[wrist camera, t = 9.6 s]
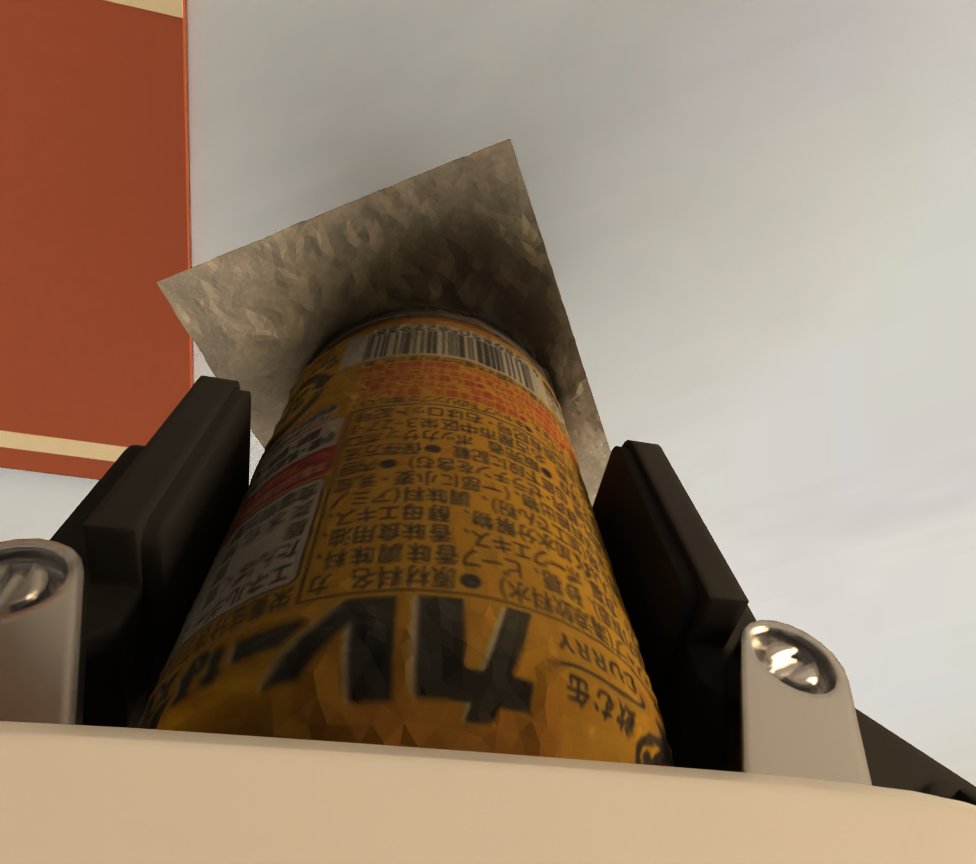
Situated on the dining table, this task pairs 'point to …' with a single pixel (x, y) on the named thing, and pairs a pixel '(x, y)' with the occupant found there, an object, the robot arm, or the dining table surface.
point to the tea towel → (91, 228)
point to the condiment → (410, 490)
